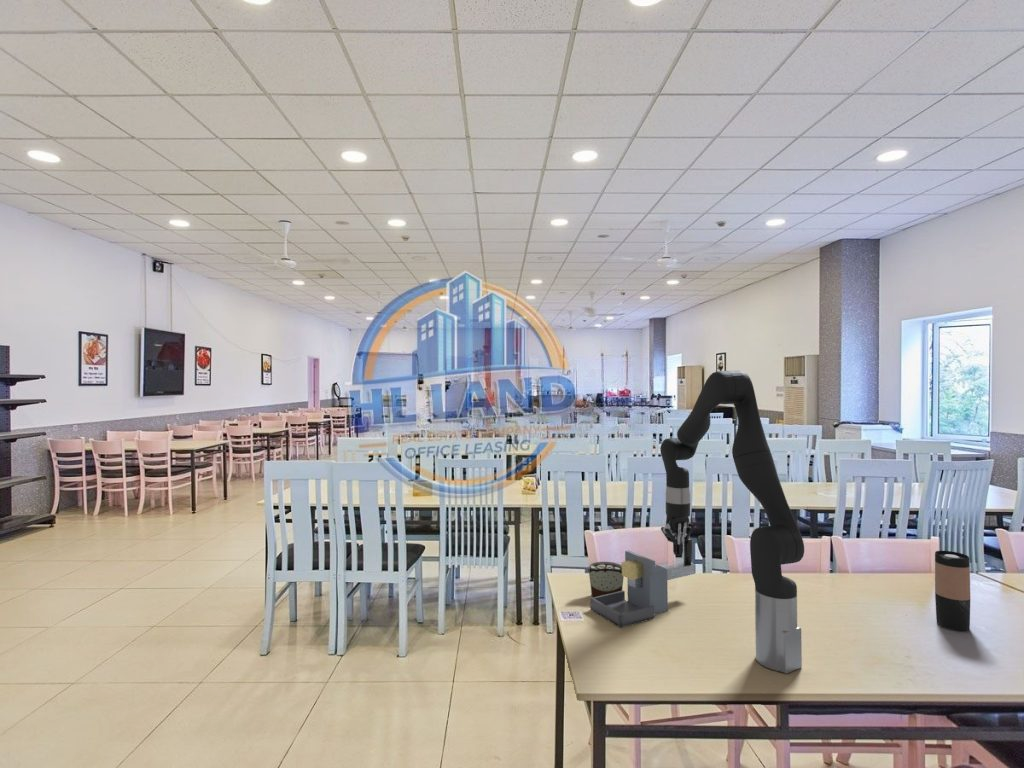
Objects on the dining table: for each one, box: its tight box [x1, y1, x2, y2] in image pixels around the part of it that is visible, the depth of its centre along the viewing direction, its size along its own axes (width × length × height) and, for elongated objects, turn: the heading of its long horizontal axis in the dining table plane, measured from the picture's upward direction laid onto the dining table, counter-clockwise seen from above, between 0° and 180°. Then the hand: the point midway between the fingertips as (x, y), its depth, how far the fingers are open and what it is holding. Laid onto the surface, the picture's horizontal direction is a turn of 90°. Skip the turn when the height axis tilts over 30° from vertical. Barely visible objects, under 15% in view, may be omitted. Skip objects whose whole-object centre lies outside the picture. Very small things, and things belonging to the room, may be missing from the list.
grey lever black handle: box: [627, 537, 696, 588], centre depth 165 cm, size 3×25×11 cm, turn 118°
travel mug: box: [934, 550, 971, 633], centre depth 148 cm, size 8×8×20 cm
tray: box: [590, 590, 655, 629], centre depth 157 cm, size 14×13×4 cm
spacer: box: [621, 560, 643, 580], centre depth 160 cm, size 4×4×4 cm
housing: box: [624, 550, 669, 615], centre depth 162 cm, size 12×7×16 cm, turn 28°
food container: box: [586, 561, 625, 598], centre depth 172 cm, size 12×6×10 cm, turn 84°
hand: (678, 554), depth 168 cm, fingers closed
